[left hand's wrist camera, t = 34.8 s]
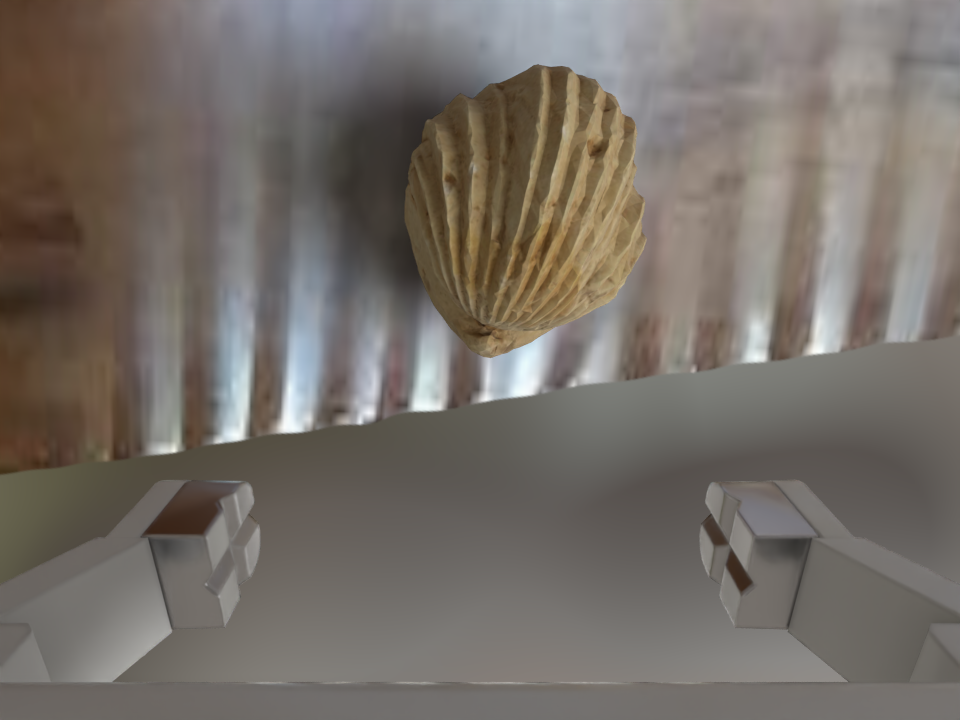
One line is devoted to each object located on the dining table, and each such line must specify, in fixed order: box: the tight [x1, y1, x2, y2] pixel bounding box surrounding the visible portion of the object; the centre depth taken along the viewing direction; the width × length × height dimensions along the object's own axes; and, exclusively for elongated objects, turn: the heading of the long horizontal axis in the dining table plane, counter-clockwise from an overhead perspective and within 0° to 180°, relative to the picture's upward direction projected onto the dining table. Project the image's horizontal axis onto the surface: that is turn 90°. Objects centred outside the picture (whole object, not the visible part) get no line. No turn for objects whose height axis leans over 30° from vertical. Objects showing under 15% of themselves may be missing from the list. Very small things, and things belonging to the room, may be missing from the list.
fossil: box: [404, 65, 647, 358], centre depth 35 cm, size 15×17×15 cm
